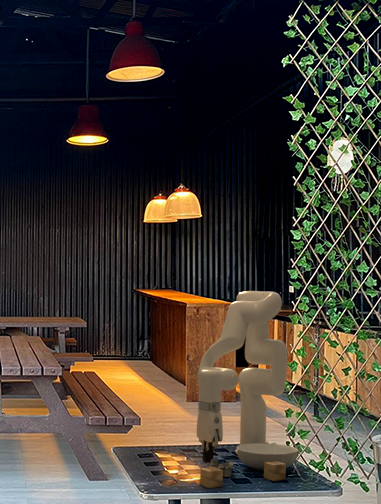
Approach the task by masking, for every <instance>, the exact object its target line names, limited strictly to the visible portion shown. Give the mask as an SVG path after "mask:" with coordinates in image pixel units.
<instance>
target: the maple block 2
mask: <svg viewBox="0 0 381 504" xmlns="http://www.w3.org/2000/svg"><path fill="white" fill-rule="evenodd" d="M286 477H287V468H286V464H285V463H281V462H278V461H272V462H264V471H263V478H264V479H266V480H269V481H272V482H277V481H286Z"/></svg>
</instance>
